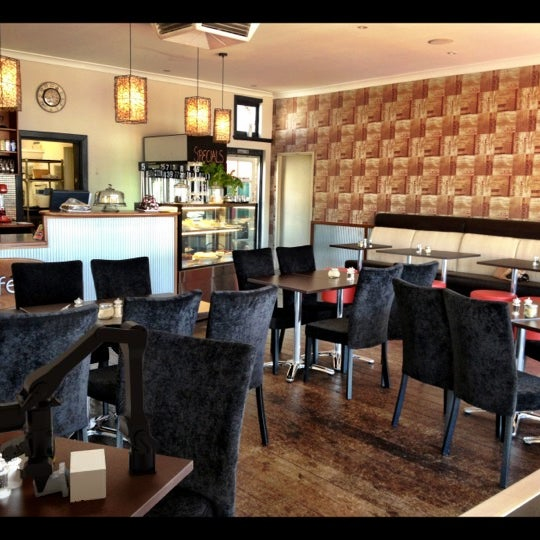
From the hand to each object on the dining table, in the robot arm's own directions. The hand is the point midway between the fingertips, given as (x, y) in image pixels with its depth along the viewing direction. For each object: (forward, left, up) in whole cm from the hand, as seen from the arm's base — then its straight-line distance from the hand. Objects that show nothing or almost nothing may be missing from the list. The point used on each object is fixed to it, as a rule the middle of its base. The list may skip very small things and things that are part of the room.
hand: (40, 488), depth 139 cm
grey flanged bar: (-6, 0, -2) cm, 6 cm away
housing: (-11, 0, -1) cm, 11 cm away
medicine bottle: (+2, -17, -2) cm, 17 cm away
